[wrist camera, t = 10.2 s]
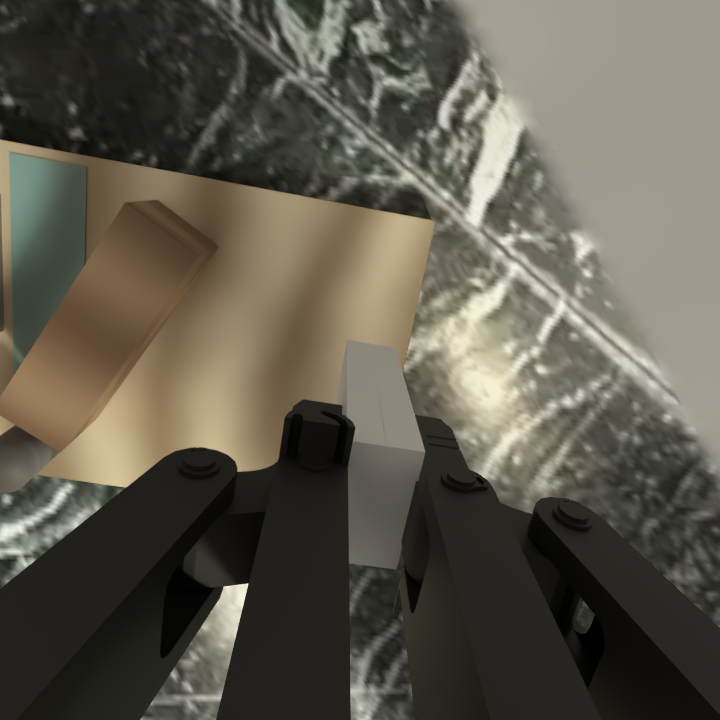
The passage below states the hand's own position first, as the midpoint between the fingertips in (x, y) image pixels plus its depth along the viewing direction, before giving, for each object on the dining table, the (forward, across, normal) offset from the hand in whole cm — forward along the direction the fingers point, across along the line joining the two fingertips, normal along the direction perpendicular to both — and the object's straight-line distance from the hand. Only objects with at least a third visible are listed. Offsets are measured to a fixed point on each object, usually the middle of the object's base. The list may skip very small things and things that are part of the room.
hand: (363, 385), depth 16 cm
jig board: (+14, -9, -4) cm, 17 cm away
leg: (+12, -12, -3) cm, 17 cm away
